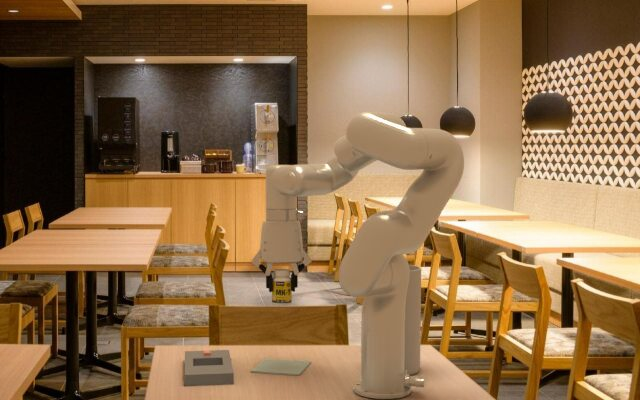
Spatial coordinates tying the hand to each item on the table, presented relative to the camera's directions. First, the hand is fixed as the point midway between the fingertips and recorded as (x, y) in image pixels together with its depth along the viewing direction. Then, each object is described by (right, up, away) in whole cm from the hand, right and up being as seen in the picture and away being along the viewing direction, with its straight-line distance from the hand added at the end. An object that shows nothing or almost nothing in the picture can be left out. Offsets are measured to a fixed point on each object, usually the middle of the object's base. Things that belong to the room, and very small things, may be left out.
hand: (281, 290), depth 205 cm
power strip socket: (-18, -19, -3) cm, 26 cm away
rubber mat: (0, -19, +1) cm, 19 cm away
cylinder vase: (+27, -19, -1) cm, 33 cm away
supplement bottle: (0, -4, 0) cm, 4 cm away
